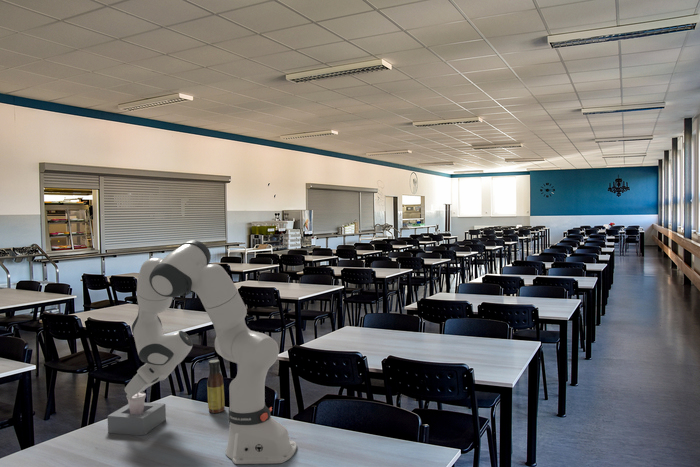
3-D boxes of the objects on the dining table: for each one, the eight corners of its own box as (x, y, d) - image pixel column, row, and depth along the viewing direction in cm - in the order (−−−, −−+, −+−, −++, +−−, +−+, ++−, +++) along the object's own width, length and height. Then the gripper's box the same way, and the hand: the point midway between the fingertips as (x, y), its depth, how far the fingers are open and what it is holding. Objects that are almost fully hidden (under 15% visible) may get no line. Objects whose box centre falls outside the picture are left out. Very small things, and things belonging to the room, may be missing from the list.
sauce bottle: (217, 406, 202) (216, 357, 202) (228, 409, 199) (226, 359, 198) (204, 411, 197) (202, 361, 197) (214, 415, 194) (213, 363, 193)
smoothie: (139, 425, 181) (138, 386, 180) (123, 423, 182) (122, 385, 182) (150, 418, 187) (149, 380, 187) (134, 417, 188) (134, 379, 188)
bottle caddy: (165, 419, 190) (165, 403, 190) (143, 435, 177) (143, 418, 176) (132, 417, 193) (132, 401, 193) (108, 432, 179) (107, 415, 179)
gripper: (168, 353, 193) (145, 378, 195) (136, 369, 173) (111, 396, 175) (179, 365, 192) (156, 390, 194) (148, 383, 172) (123, 410, 174)
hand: (134, 393), depth 184 cm, fingers open, 6 cm apart
